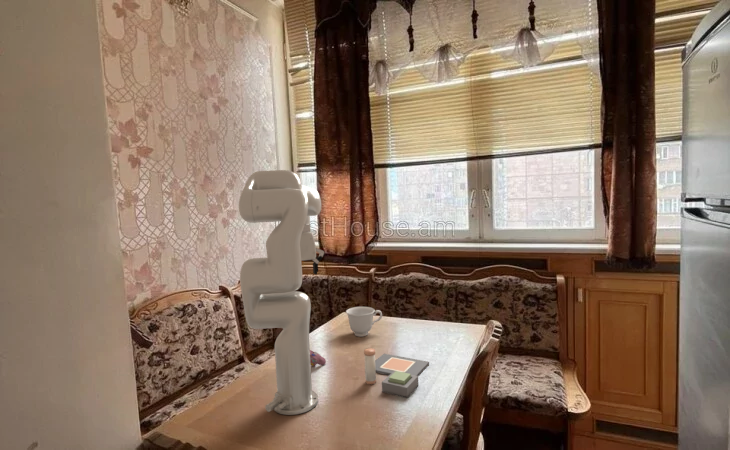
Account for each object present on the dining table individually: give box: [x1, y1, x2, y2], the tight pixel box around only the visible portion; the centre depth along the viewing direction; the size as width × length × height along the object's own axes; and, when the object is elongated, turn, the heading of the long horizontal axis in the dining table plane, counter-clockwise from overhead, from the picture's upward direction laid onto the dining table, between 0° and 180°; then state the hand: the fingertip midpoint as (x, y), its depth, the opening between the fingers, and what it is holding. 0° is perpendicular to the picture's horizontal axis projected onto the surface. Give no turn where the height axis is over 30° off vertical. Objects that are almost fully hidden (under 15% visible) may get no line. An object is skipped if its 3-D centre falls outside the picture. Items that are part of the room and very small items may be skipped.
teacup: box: [345, 306, 383, 338], centre depth 163 cm, size 12×15×10 cm
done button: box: [389, 371, 411, 385], centre depth 116 cm, size 5×5×2 cm
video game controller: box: [310, 349, 327, 367], centre depth 135 cm, size 10×5×7 cm, turn 62°
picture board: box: [375, 353, 430, 377], centre depth 131 cm, size 13×17×1 cm
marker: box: [363, 347, 377, 386], centre depth 121 cm, size 3×3×10 cm
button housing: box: [381, 371, 419, 399], centre depth 116 cm, size 8×8×3 cm
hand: (302, 275), depth 146 cm, fingers open, 9 cm apart
